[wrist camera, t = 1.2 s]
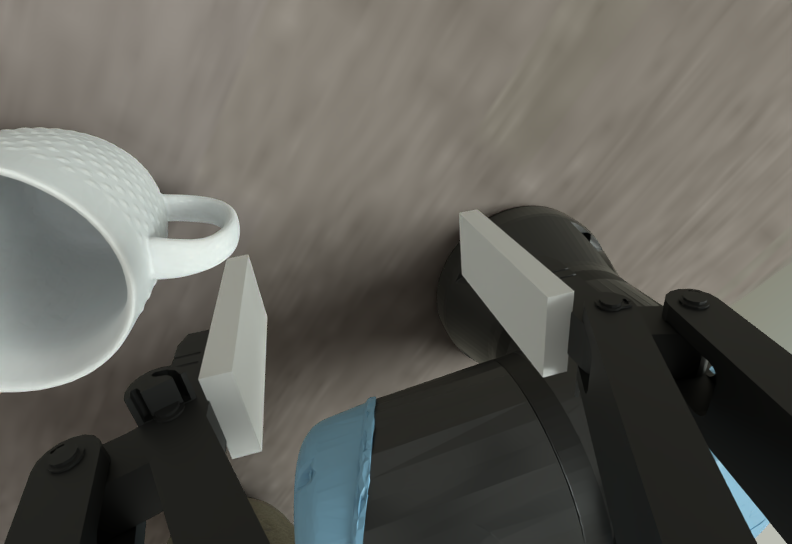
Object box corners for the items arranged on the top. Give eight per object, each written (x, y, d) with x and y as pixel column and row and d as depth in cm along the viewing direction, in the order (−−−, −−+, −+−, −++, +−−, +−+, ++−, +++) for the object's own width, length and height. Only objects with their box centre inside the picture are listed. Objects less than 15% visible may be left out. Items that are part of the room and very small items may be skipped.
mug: (241, 117, 30) (218, 164, 18) (251, 266, 34) (237, 377, 23) (-30, 102, 26) (-268, 150, 15) (23, 272, 31) (-124, 406, 19)
